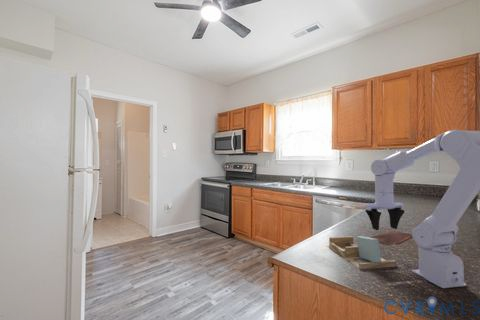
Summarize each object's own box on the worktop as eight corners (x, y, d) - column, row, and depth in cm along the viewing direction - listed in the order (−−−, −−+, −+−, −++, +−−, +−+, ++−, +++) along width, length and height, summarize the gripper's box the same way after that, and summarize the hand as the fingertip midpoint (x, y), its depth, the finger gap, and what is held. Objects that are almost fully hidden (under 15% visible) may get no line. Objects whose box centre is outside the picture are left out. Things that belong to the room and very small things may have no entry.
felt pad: (387, 265, 72) (387, 264, 72) (365, 267, 71) (365, 266, 71) (373, 257, 78) (373, 256, 78) (353, 259, 77) (353, 258, 77)
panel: (381, 261, 70) (377, 239, 72) (376, 262, 70) (372, 239, 72) (364, 256, 78) (361, 236, 80) (359, 257, 78) (356, 236, 79)
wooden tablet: (393, 228, 110) (417, 231, 102) (394, 233, 110) (418, 236, 101) (363, 238, 97) (387, 242, 88) (364, 243, 97) (388, 248, 88)
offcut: (360, 249, 85) (360, 245, 85) (353, 250, 85) (353, 246, 85) (354, 246, 88) (354, 242, 88) (347, 246, 88) (347, 242, 88)
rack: (396, 267, 71) (396, 255, 71) (360, 271, 69) (360, 258, 69) (355, 245, 91) (355, 235, 91) (326, 247, 89) (326, 237, 89)
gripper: (392, 190, 86) (392, 224, 86) (359, 191, 84) (359, 226, 84) (408, 192, 79) (409, 230, 79) (372, 193, 77) (373, 232, 77)
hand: (384, 228), depth 81 cm, fingers open, 7 cm apart
